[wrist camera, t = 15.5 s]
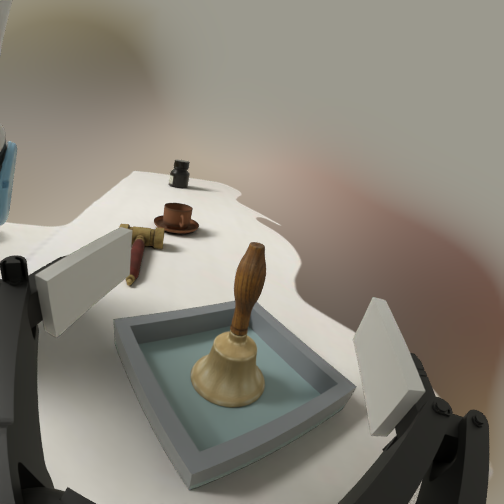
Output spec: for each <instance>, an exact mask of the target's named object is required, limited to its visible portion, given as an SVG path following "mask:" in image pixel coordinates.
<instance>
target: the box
mask: <svg viewBox="0 0 504 504" xmlns="http://www.w3.org/2000/svg"><path fill="white" fill-rule="evenodd" d="M234 312H235V301H231V302H225V303H220V304H214V305H208V306H202V307H195V308H189V309H183V310H176V311H170V312H163V313H156V314H149V315H142V316H135V317H127V318H119V319H113V321H114V336H115V346H116V348H117V351H118V354H119V356H120V359H121V361H122V364H123V366H124V369H125V371H126V374H127V376H128V378H129V381H130V383H131V385H132V387H133V390H134V392H135V394H136V396H137V398H138V401H139V403H140V405H141V407H142V409H143V411H144V413H145V415H146V417H147V419H148V421H149V423H150V425H151V427H152V429H153V431H154V433H155V434H156V436H157V438H158V440H159V442H160V444H161V445H162V447H163V449H164V451H165V452H166V454H167V456H168V458H169V459H170V461H171V463H172V464H173V466H174V467H175V469H176V471H177V472H178V474H179V475H180V477H181V479H182V480H183V482H184V483H185V485H186V486H187V488H188V489H189V490H191V489H193V488H196V487H199V486H201V485H204V484H207V483H209V482H211V481H214V480H216V479H219V478H221V477H223V476H226V475H228V474H230V473H232V472H235V471H237V470H239V469H241V468H243V467H245V466H247V465H249V464H251V463H253V462H255V461H257V460H259V459H261V458H263V457H265V456H267V455H269V454H271V453H273V452H274V451H276V450H278V449H280V448H282V447H283V446H285V445H287V444H289V443H290V442H292V441H294V440H295V439H297V438H299V437H300V436H302V435H304V434H305V433H307V432H308V431H310V430H312V429H313V428H315V427H316V426H318V425H319V424H321V423H322V422H324V421H325V420H327V419H328V418H330V417H331V416H333V415H334V414H336V413H337V412H338V411H340V410H341V409H343V407H344V406H345V404H346V403H347V401H348V400H349V398H350V396H351V395H352V393H353V392H354V390H355V389H356V387H357V386H355V385H354V384H353V383H352V382H350V381H349V380H348V379H347V378H345V377H344V376H343V375H342V374H341V373H339V372H338V371H337V370H336V369H334V368H333V367H332V366H331V365H330V364H328V363H327V362H326V361H325V360H324V359H322V358H321V357H320V356H319V355H318V354H316V353H315V352H314V351H313V350H312V349H311V348H309V347H308V346H307V345H306V344H305V343H303V342H302V341H301V340H300V339H299V338H298V337H296V336H295V335H294V334H293V333H292V332H291V331H289V330H288V329H287V328H286V327H285V326H284V325H282V324H281V323H280V322H279V321H278V320H277V319H275V318H274V317H273V316H272V315H271V314H270V313H269V312H267V311H266V310H265V309H264V308H263V307H262V306H261V305H259V304H258V303H257V302H256V303H255V305H254V307H253V309H252V311H251V315H250V321H249V326H248V332H247V336H249V337H250V338H252V339H253V340H254V342H255V343H256V345H257V356H256V365H257V366H258V368H259V369H260V370H261V372H262V374H263V376H264V380H265V388H264V392H263V393H262V395H261V396H260V398H259V399H258V400H256V401H255V402H253V403H251V404H249V405H246V406H242V407H233V408H232V407H224V406H219V405H216V404H213V403H211V402H209V401H207V400H206V399H204V398H203V397H202V396H200V395H199V394H198V393H197V391H196V390H195V389H194V387H193V385H192V382H191V370H192V368H193V366H194V364H195V363H196V362H197V361H198V360H199V359H200V358H202V357H204V356H206V355H208V354H209V353H210V351H211V348H212V346H213V342H214V340H215V338H216V337H217V336H218V335H220V334H222V333H224V332H230V326H231V324H232V319H233V316H234Z"/></svg>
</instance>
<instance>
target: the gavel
mask: <svg viewBox="0 0 504 504" xmlns="http://www.w3.org/2000/svg"><path fill="white" fill-rule="evenodd" d="M120 227H123V228H126V229H130V230H132V242H131V244H132V245H133V246H132V249H131V258H130V275H129V276H128V277H127V278H126V281H127V285H129V286H130V285H132V283H133V282H134V281H135V280H136V279H137V278H138V275H139V270H140V266H141V261H142V256H143V252H144V247H145V246H154V248H157V249H162V248H163V239H164V230H165V229H164V228H156V229H151V228H143V227H130V226H129V224H121V225H120ZM120 227H119V228H120Z"/></svg>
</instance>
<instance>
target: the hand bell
mask: <svg viewBox="0 0 504 504" xmlns="http://www.w3.org/2000/svg"><path fill="white" fill-rule="evenodd" d="M265 277H266V262H265V246H264V245H263V244H261V243H257V242H251V243H250V245H249V247H248V249H247V251H246V253H245V255H244V256H243V258H242V259H241V261H240V263H239V266H238V268H237V272H236V276H235V283H234V296H235V312H234V316H233V319H232V324H231V326H230V332H224V333H222V334H220V335H218V336H217V337H216V338H215V340H214V342H213V346H212V348H211V351H210V353H209V354H208V355H206V356H204V357H202V358H200V359H199V360H198V361H197V362H196V363H195V364H194V366H193V368H192V370H191V382H192V385H193V387H194V389H195V390H196V391H197V393H198V394H199V395H200V396H202V397H203V398H204V399H206V400H207V401H209V402H211V403H213V404H216V405H219V406H224V407H232V408H233V407H242V406H246V405H249V404H251V403H253V402H255V401H256V400H258V399H259V398H260V396H261V395H262V393H263V392H264V388H265V380H264V376H263V374H262V372H261V370H260V369H259V368H258V366H257V365H256V356H257V345H256V343H255V342H254V340H253V339H252V338H250V337H249V336H247V332H248V326H249V321H250V315H251V311H252V309H253V307H254V305H255V303H256V302H257V300H258V298H259V296H260V294H261V292H262V289H263V286H264V282H265Z"/></svg>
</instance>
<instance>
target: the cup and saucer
mask: <svg viewBox="0 0 504 504" xmlns="http://www.w3.org/2000/svg"><path fill="white" fill-rule="evenodd" d="M191 215H192V207H190V206H188V205H185V204H180V203H167V204H165V207H164V216H159V217H156V218H155V219H154V223H155V225H156V226H157V227H158V228H164V229H165V230H164V231H167V232H171V233H178V234H184V233H191V232H194V231H195V230H197V229H198V227H199V224H198V223H197V222H196V221H194V220H192V219H191Z"/></svg>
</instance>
